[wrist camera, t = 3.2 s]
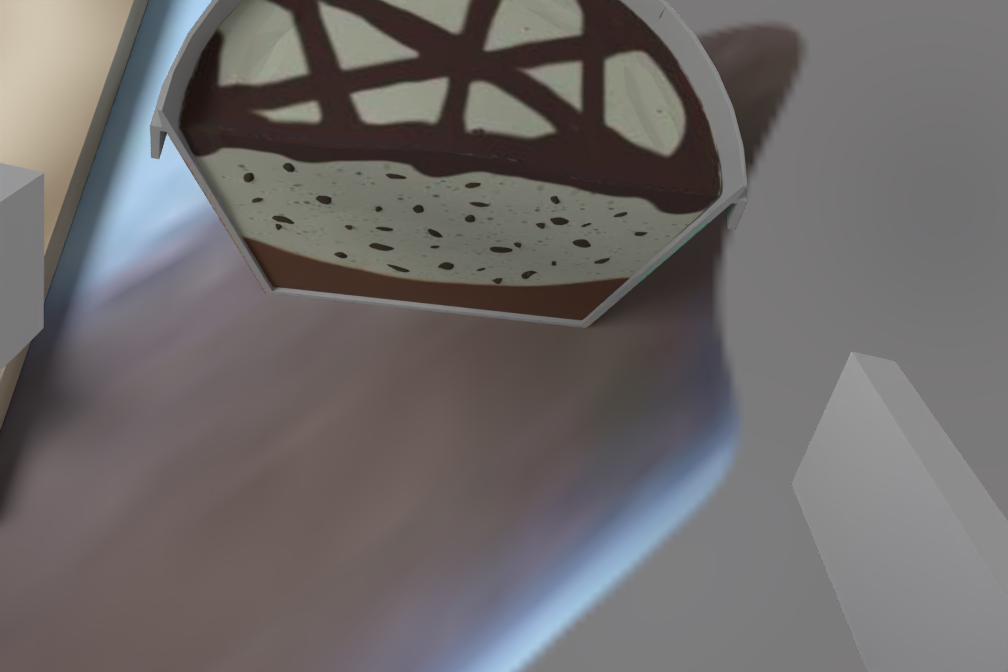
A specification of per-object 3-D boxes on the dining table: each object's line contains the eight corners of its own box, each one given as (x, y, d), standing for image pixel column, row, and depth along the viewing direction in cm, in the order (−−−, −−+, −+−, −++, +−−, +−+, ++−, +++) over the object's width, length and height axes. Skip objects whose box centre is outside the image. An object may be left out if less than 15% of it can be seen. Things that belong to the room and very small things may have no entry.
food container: (641, 148, 30) (769, -70, 20) (635, 333, 28) (774, 189, 19) (243, 95, 29) (183, -164, 19) (211, 287, 27) (127, 106, 17)
